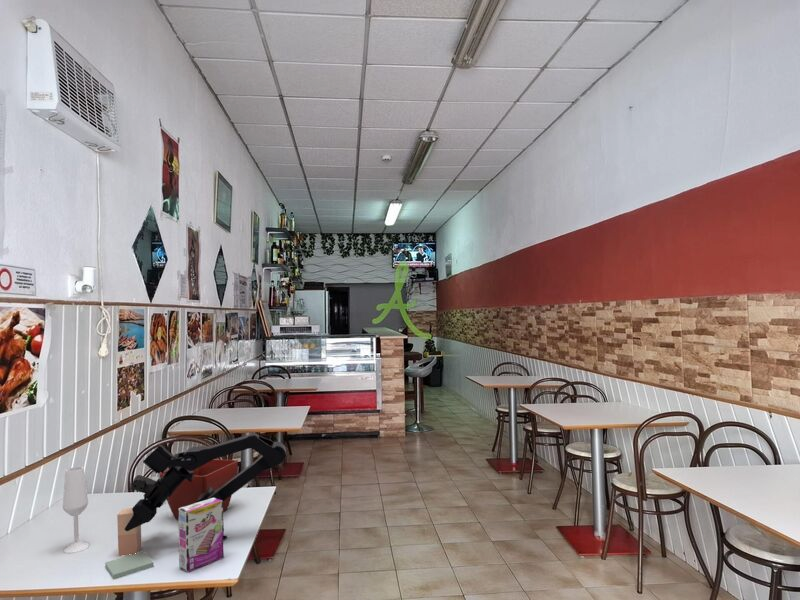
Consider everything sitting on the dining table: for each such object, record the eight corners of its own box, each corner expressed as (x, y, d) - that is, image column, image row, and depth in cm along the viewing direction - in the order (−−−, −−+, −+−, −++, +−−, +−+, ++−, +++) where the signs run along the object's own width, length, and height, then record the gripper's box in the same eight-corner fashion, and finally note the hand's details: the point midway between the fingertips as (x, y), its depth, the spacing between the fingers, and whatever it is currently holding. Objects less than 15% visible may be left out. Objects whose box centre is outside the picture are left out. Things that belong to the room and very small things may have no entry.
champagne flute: (66, 545, 165) (64, 467, 166) (91, 541, 167) (89, 464, 168) (61, 554, 159) (59, 473, 159) (87, 550, 161) (84, 470, 162)
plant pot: (159, 523, 181) (157, 473, 181) (197, 503, 199) (195, 458, 199) (206, 527, 175) (204, 476, 175) (241, 507, 193) (239, 460, 193)
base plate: (143, 555, 155) (143, 551, 156) (153, 566, 148) (153, 562, 148) (105, 566, 149) (105, 562, 149) (113, 579, 141) (113, 574, 141)
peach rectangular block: (141, 546, 162) (140, 507, 162) (136, 553, 157) (135, 512, 157) (123, 549, 161) (122, 508, 161) (118, 556, 156) (117, 514, 156)
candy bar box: (188, 573, 143) (186, 511, 143) (178, 568, 146) (176, 508, 147) (225, 557, 152) (223, 499, 152) (215, 553, 155) (213, 496, 155)
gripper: (155, 458, 170) (118, 497, 167) (139, 474, 151) (98, 518, 149) (182, 480, 171) (146, 519, 168) (170, 499, 153) (129, 543, 150)
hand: (130, 524), depth 159 cm, fingers open, 9 cm apart
